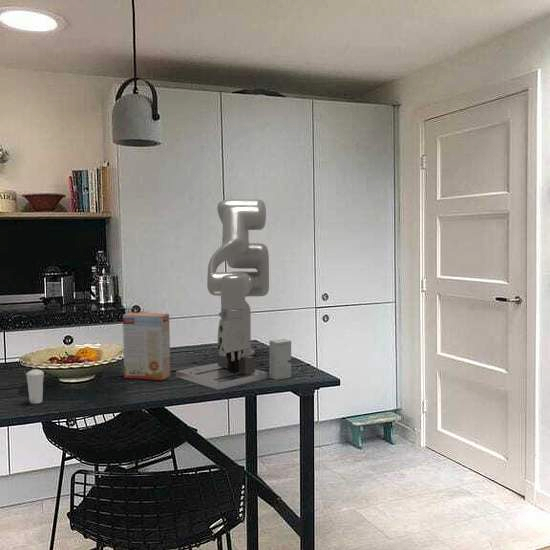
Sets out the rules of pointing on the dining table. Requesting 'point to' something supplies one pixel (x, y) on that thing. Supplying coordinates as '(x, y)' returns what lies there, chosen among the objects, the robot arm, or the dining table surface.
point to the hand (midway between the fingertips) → (233, 372)
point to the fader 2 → (247, 364)
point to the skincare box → (280, 359)
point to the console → (218, 376)
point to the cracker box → (146, 346)
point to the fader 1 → (222, 361)
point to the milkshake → (35, 385)
